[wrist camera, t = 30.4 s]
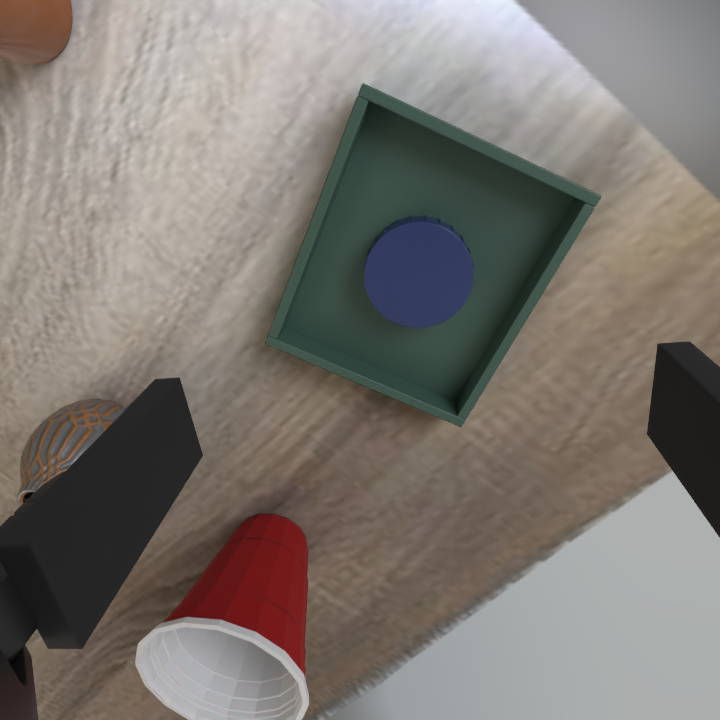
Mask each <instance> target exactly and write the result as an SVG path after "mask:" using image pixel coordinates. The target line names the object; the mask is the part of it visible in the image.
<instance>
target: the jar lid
mask: <svg viewBox="0 0 720 720" xmlns="http://www.w3.org/2000/svg"><path fill="white" fill-rule="evenodd" d="M470 254H471V252H470V249H469V247H468V248H467V246H466V244H465V242H464V238H463V236H462V235H461V236H460V235H459V234H458V232H457V231H456V230H454V228H453V226H452V225H451V226H449V225H448V224H446V223H445V222H443V221H441V219H440V218H439V220H438V219H435V218H431V217H427V215H425V216H415V217H413V216H412V215H411V216H410V217H408V218H404V219H401V220H399V219H397V221H396V222H395V223H393V224H391V225H390V226H388V227H385V228H384V230H383V231H382V232H381V233H380V234H379V236H378V237H375V239H374V242H373V245H372V247H371V249H369V250H368V253H367V256H368V257H367V260H366V262H365V265H364V284H365V288H366V292H367V294H368V297H369V299H370V301H371V303H372V304H373V306H374V307H375V308H376V309H377V310H378V312H379V313H380V314H382V315H383V316H384V317H385V318H387V319H388V320H390V321H392V322H394V323H396V324H398V325H401V326H405V327H410V328H425V327H431V326H434V325H437V324H440V323H442V322H444V321H446V320H448V319H449V318H451V317H452V316H453V315H454V314H456V313H457V312H458V311H459V310H460V309H461V307H462V306H463V305H464V303H465V302H466V300H467V298H468V296H469V294H470V291H471V288H472V284H473V268H474V265H473V262H472V260H471V257H470Z"/></svg>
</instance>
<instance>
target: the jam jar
mask: <svg viewBox="0 0 720 720" xmlns="http://www.w3.org/2000/svg"><path fill="white" fill-rule="evenodd" d="M71 28H72V7H71V1H70V0H0V60H1V61H9V62H16V63H23V64H42V63H46V62H48V61H50V60H52V59H54V58H55V57H56V56H58V55H59V54H60V52H61V51H62V50H63V49H64V47H65V46H66V44H67V42H68V39H69V36H70V33H71Z"/></svg>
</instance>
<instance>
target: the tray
mask: <svg viewBox="0 0 720 720" xmlns="http://www.w3.org/2000/svg"><path fill="white" fill-rule="evenodd" d="M358 95H359V96H358V97H357V99H356V102H355V104H354V107H353V110H352V112H351V115H350V118H349V120H348V123H347V126H346V128H345V131H344V134H343V136H342V139H341V142H340V144H339V147H338V150H337V152H336V155H335V158H334V160H333V163H332V166H331V168H330V171H329V174H328V177H327V179H326V182H325V185H324V187H323V190H322V193H321V195H320V198H319V201H318V203H317V206H316V209H315V211H314V214H313V217H312V219H311V222H310V225H309V227H308V230H307V233H306V235H305V238H304V241H303V243H302V246H301V249H300V251H299V254H298V257H297V259H296V262H295V265H294V267H293V270H292V273H291V275H290V278H289V281H288V283H287V286H286V289H285V291H284V294H283V297H282V299H281V302H280V305H279V308H278V310H277V313H276V316H275V318H274V321H273V324H272V326H271V329H270V332H269V334H268V337H267V340H266V342H265V344H267V345H269V346H271V347H274V348H276V349H278V350H281V351H283V352H286V353H288V354H290V355H293V356H295V357H297V358H300V359H302V360H304V361H307V362H309V363H311V364H314V365H316V366H318V367H321V368H323V369H326V370H328V371H330V372H333V373H335V374H337V375H340V376H342V377H344V378H347V379H349V380H351V381H354V382H356V383H358V384H361V385H363V386H366V387H368V388H370V389H373V390H375V391H377V392H380V393H382V394H384V395H387V396H389V397H391V398H394V399H396V400H398V401H401V402H403V403H406V404H408V405H410V406H413V407H415V408H417V409H420V410H422V411H424V412H427V413H429V414H431V415H434V416H436V417H438V418H441V419H443V420H445V421H448V422H450V423H453V424H455V425H457V426H460V427H462V425H463V423H464V422H465V419H466V418H467V417H468V415H469V414H470V412H471V410H472V409H473V407H474V405H475V404H476V402H477V400H478V399H479V397H480V395H481V394H482V392H483V391H484V389H485V387H486V386H487V384H488V382H489V381H490V379H491V377H492V376H493V374H494V373H495V371H496V369H497V368H498V366H499V364H500V363H501V361H502V359H503V358H504V356H505V354H506V353H507V351H508V350H509V348H510V346H511V345H512V343H513V341H514V340H515V338H516V336H517V335H518V333H519V331H520V330H521V328H522V327H523V325H524V323H525V322H526V320H527V318H528V317H529V315H530V313H531V312H532V310H533V308H534V307H535V305H536V304H537V302H538V300H539V299H540V297H541V295H542V294H543V292H544V290H545V289H546V287H547V285H548V284H549V282H550V281H551V279H552V277H553V276H554V274H555V272H556V271H557V269H558V267H559V266H560V264H561V263H562V261H563V259H564V258H565V256H566V254H567V253H568V251H569V249H570V248H571V246H572V244H573V243H574V241H575V240H576V238H577V236H578V235H579V233H580V231H581V230H582V228H583V226H584V225H585V223H586V221H587V220H588V218H589V217H590V215H591V213H592V212H593V210H594V208H595V206H596V205H597V203H598V202H599V200H600V198H601V195H599V194H597V193H594V192H592V191H590V190H588V189H586V188H584V187H582V186H580V185H577V184H575V183H573V182H571V181H569V180H567V179H565V178H563V177H561V176H558V175H556V174H554V173H552V172H550V171H548V170H546V169H544V168H542V167H539V166H537V165H535V164H533V163H531V162H529V161H527V160H525V159H523V158H520V157H518V156H516V155H514V154H512V153H510V152H508V151H506V150H503V149H501V148H499V147H497V146H495V145H493V144H491V143H489V142H487V141H484V140H482V139H480V138H478V137H476V136H474V135H472V134H470V133H468V132H465V131H463V130H461V129H459V128H457V127H455V126H453V125H451V124H448V123H446V122H444V121H442V120H440V119H438V118H436V117H434V116H432V115H429V114H427V113H425V112H423V111H421V110H419V109H417V108H415V107H413V106H410V105H408V104H406V103H404V102H402V101H400V100H398V99H396V98H394V97H391V96H389V95H387V94H385V93H383V92H381V91H379V90H377V89H374V88H372V87H370V86H368V85H366V84H362V86H361V88H360V91H359V94H358ZM411 215H412V216H413V217H415V216H425V215H427V217H431V218H435V219H438V220H439V218H440V219H441V221H443V222H445V223H446V224H448V225H449V226H451V225H452V226H453V228H454V230H456V231H457V232H458V234H459V235H460V236H461V235H462V236H463V238H464V242H465V244H466V246H467V248H468V247H469V249H470V252H471V254H470V257H471V260H472V262H473V265H474V268H473V284H472V288H471V291H470V294H469V296H468V298H467V300H466V302H465V303H464V305H463V306H462V307H461V309H460V310H459V311H458V312H457V313H456V314H454V315H453V316H452V317H451V318H449V319H448V320H446V321H444V322H442V323H440V324H437V325H434V326H431V327H425V328H410V327H405V326H401V325H398V324H396V323H394V322H392V321H390V320H388V319H387V318H385V317H384V316H383V315H382V314H380V313H379V312H378V310H377V309H376V308H375V307H374V306H373V304H372V303H371V301H370V299H369V297H368V294H367V292H366V288H365V284H364V265H365V262H366V260H367V257H368V256H367V253H368V250H369V249H371V247H372V245H373V242H374V239H375V237H378V236H379V234H380V233H381V232H382V231H383V230H384V228H385V227H388V226H390V225H391V224H393V223H395V222H396V221H397V219H399V220H401V219H404V218H408V217H410V216H411Z"/></svg>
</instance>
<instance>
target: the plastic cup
mask: <svg viewBox="0 0 720 720" xmlns="http://www.w3.org/2000/svg"><path fill="white" fill-rule="evenodd" d="M307 569H308V549H307V542H306V537H305V535H304V534H303V532H302V531H301V529H300V528H299V526H297V525H296V524H294V523H293V522H292V521H290V520H289V519H287V518H284V517H281V516H278V515H275V514H258V515H256V516H253V517H250V518H248V519H247V520H246V521H245V522H244V523H242V524H241V525H240V526H239V527H238V528H237V529H236V531H235V532H234V533H233V535H232V536H231V537H230V539H229V540H228V542H227V543H226V544H225V546H224V547H223V549H222V550H221V551H220V552H219V553H218V554H217V555H216V556H215V558H214V559H213V560H212V562H211V563H210V564H209V566H208V567H207V568H206V570H205V571H204V572H203V574H202V575H201V577H200V578H199V579H198V581H197V582H196V583H195V585H194V586H193V587H192V589H191V590H190V592H189V593H188V594H187V596H186V597H185V598H184V600H183V601H182V602H181V604H180V605H179V606H178V607H177V608H176V609H175V610H174V611H173V612H172V614H171V615H170V616H169V617H168V618H167V619H166V620H165V621H164V622H163V623H160V624H158V625H157V626H156V627H155V628H154V629H153V630H152V631H151V632H150V633H149V634H148V635H146V636H145V637H144V638H143V639H142V640H141V641H140V642H139V643H138V647H137V654H136V660H135V665H136V667H137V669H138V671H139V673H140V676H141V678H142V680H143V682H144V684H145V686H146V687H147V688H148V689H149V690H150V691H151V692H152V693H153V694H154V695H155V696H156V697H157V698H158V699H159V700H160V701H161V702H162V703H163V704H164V705H165V706H167V707H168V708H170V709H172V710H173V711H175V712H177V713H178V714H180V715H182V716H183V717H185V718H187V719H188V720H302V718H303V716H304V714H305V712H306V710H307V707H308V705H309V694H308V690H307V685H306V681H305V670H306V669H305V653H306V652H305V630H306V612H307V594H308V579H307Z"/></svg>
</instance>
